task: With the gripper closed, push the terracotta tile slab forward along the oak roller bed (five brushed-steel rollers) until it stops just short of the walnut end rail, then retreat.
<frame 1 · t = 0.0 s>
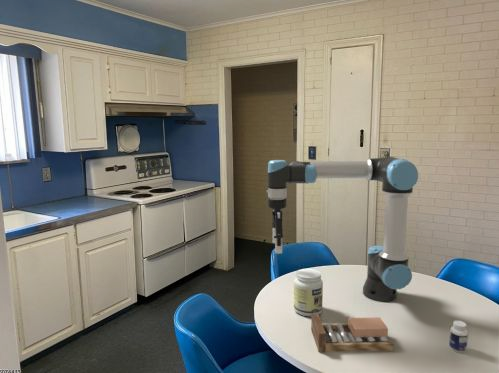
hand: (277, 247, 159), 28 cm above the table, fingers open, 13 cm apart
supplement tub: (307, 310, 163), on the table
frame: (352, 339, 140), on the table
slab: (367, 330, 140), point 3 cm above the table, touching roller bed
pill bottle: (457, 349, 134), on the table
roller bed: (354, 339, 140), resting in frame
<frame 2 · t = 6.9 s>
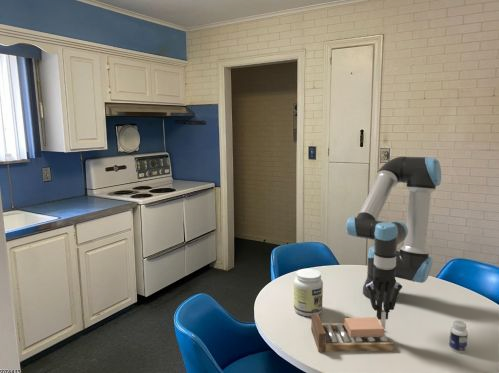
hand: (381, 326, 140), 5 cm above the table, fingers closed
slab: (363, 330, 140), point 4 cm above the table, touching roller bed
everything else where it was.
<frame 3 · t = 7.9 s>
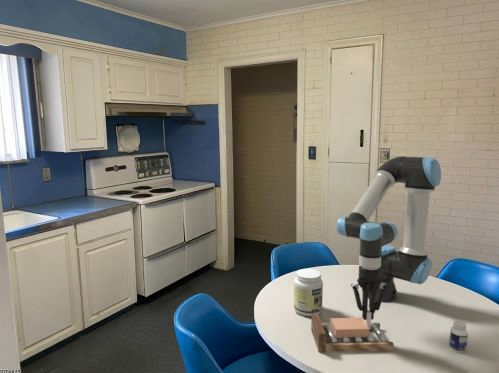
hand: (367, 327, 140), 5 cm above the table, fingers closed
slab: (349, 330, 140), point 4 cm above the table, touching gripper
everything else where it was.
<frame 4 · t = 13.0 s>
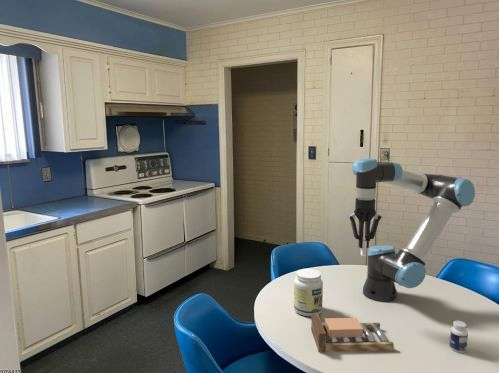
hand: (363, 255, 153), 26 cm above the table, fingers closed
slab: (343, 331, 140), point 3 cm above the table, touching roller bed
everything else where it was.
at the end: slab inside the target area (0.9 cm from its centre), point 3.5 cm above the table; slab tilted 0°; slab touching roller bed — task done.
